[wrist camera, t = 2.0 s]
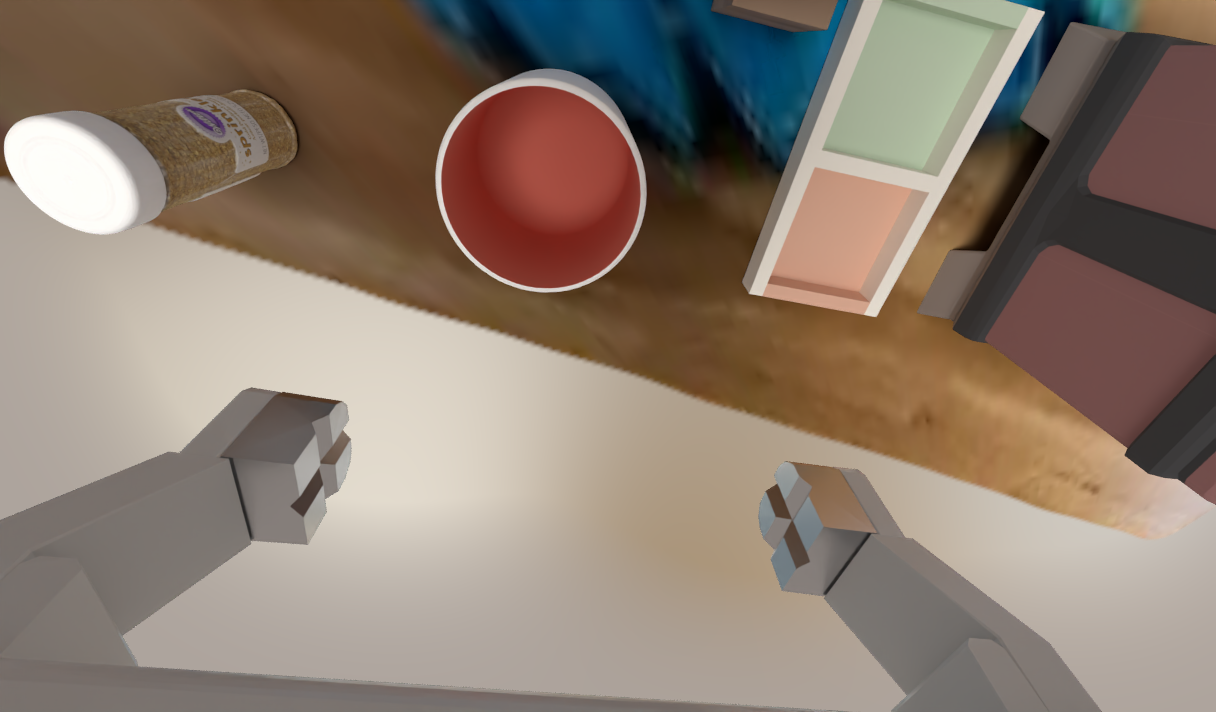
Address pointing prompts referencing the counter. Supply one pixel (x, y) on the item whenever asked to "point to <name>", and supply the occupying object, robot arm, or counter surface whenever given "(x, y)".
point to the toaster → (1112, 249)
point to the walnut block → (781, 12)
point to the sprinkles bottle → (145, 156)
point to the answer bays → (882, 145)
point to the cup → (542, 181)
